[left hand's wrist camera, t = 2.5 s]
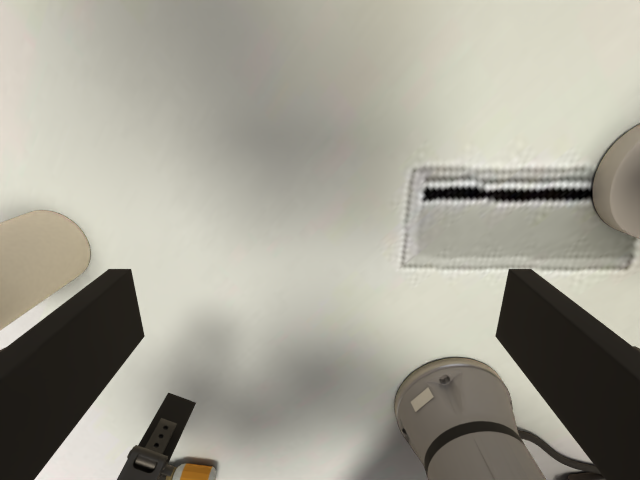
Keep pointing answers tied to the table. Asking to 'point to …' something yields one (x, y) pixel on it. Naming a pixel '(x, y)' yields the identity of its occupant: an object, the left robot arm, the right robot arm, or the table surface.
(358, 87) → the table surface
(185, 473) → the spray gun
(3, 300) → the jar
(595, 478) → the toy
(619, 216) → the bust sculpture
